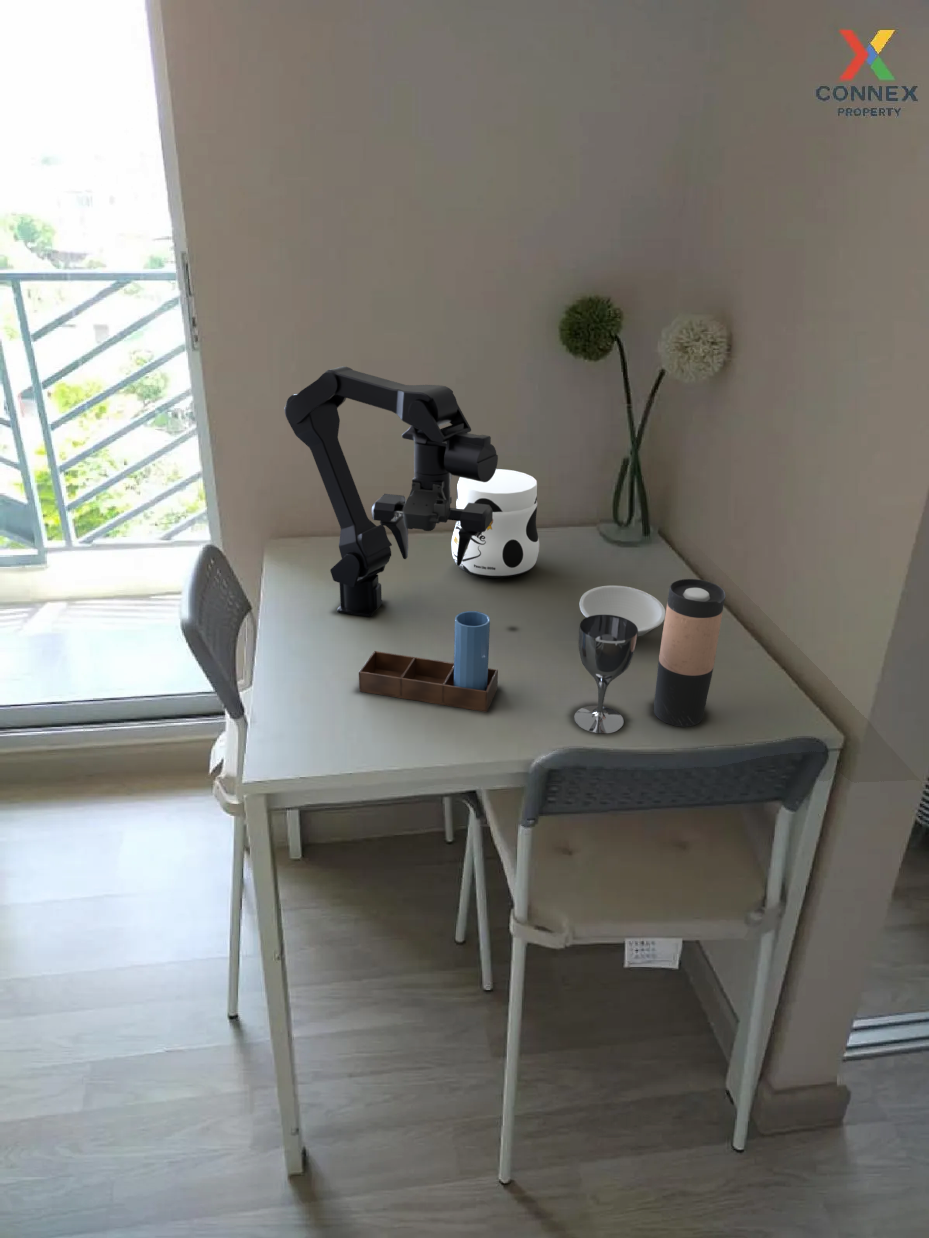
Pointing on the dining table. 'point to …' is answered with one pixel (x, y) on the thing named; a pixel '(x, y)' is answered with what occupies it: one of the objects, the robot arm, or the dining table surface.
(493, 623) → the dining table surface
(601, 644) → the wine glass
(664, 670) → the travel mug
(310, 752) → the dining table surface
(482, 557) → the milk container
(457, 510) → the robot arm
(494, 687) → the caddy
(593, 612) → the dish
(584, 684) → the dining table surface
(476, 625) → the tumbler
